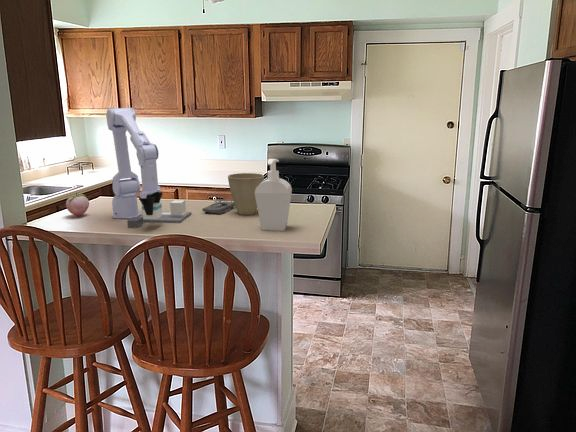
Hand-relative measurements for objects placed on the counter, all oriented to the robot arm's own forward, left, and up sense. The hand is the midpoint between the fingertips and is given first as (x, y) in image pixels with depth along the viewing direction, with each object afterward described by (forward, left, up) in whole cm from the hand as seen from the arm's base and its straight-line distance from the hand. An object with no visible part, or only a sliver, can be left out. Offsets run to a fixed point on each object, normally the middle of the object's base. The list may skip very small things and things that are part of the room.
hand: (152, 213), depth 180 cm
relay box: (-8, +2, -6) cm, 10 cm away
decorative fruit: (-39, +15, -6) cm, 42 cm away
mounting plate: (-1, +14, -5) cm, 15 cm away
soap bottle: (+46, +1, -6) cm, 46 cm away
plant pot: (+31, +25, -6) cm, 40 cm away
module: (0, 0, -2) cm, 2 cm away
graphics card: (+17, +30, -6) cm, 35 cm away
